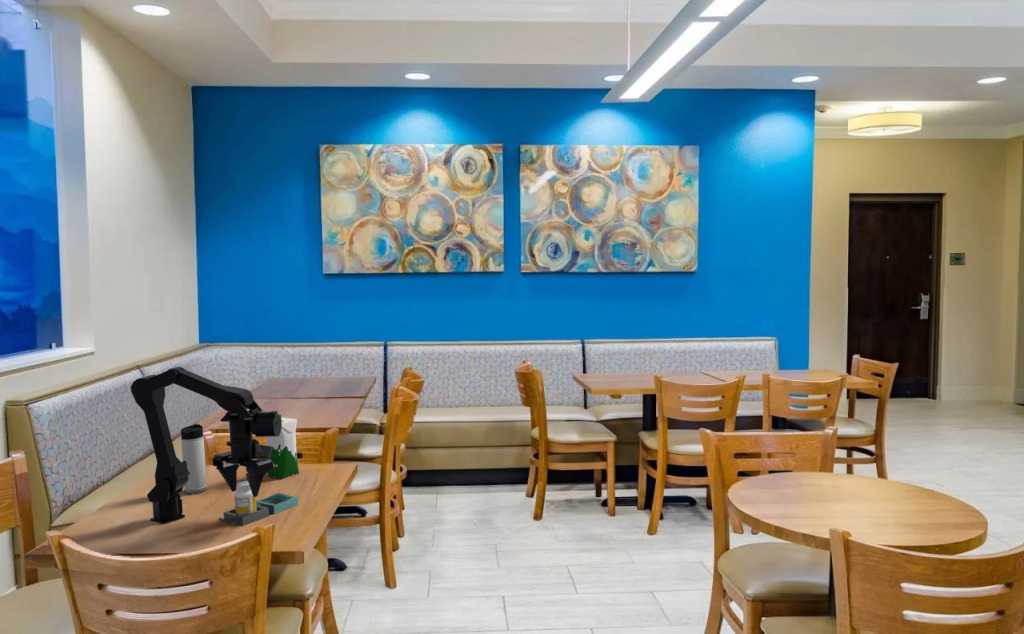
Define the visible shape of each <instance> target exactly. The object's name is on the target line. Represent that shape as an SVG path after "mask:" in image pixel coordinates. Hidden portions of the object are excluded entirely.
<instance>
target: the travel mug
mask: <svg viewBox="0 0 1024 634" xmlns="http://www.w3.org/2000/svg"><path fill="white" fill-rule="evenodd" d="M180 436H181V437H180V440H181V441H180V442H181V458H182V461H186V462H187V469H188V471H189V473H190V474H189V475H188V481H187V483H186V485H185V486H184V487H183V488H184V492H185V494H187V493H188V495H194V494H195V493H196V494H201V493H203V491H204V492H206V491H207V489H208V486H207V483H208V482H207V470H206V469H207V467H206V454H205V440H204V428H203V425H201V424H200V423H197V424H196V423H195V424H192V425H188V426H185V427H183V428H181V429H180ZM200 492H201V493H200ZM189 493H190V494H189Z"/></svg>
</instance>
